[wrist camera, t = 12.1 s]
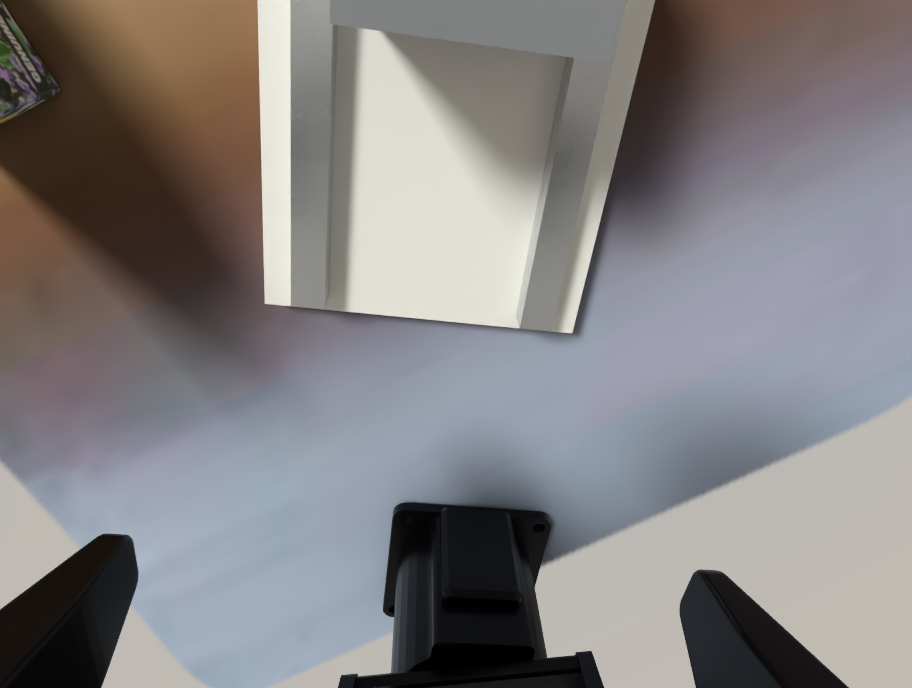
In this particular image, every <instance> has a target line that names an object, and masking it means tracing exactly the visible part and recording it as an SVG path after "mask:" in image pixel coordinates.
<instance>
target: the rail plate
mask: <svg viewBox="0 0 912 688" xmlns="http://www.w3.org/2000/svg"><path fill="white" fill-rule="evenodd" d="M654 3H655V0H624V2H623V7H622V11H621V15H620V20H619V24H618V29H617V33H616V38H615V42H614V47H613V51H612V55H611V60H610V63H608V62H600V61H593V60H586V59H579V58H572V57H564V56H557V55H550V54H543V53H535V52H528V51H521V50H514V49H507V48H499V47H492V46H485V45H478V44H471V43H463V42H456V41H449V40H442V39H434V38H427V37H420V36H413V35H406V34H398V33H391V32H384V31H377V30H370V29H362V28H355V27H348V26H341V25H333V24H330V0H258V35H259V77H260V120H261V162H262V205H263V247H264V290H265V304H273V305H283V306H293V307H303V308H313V309H324V310H335V311H345V312H355V313H366V314H376V315H386V316H397V317H407V318H417V319H427V320H438V321H448V322H458V323H469V324H479V325H489V326H499V327H510V328H520V329H529V330H540V331H550V332H561V333H572V332H573V328H574V324H575V320H576V316H577V312H578V308H579V304H580V300H581V296H582V292H583V288H584V284H585V280H586V276H587V272H588V268H589V264H590V260H591V256H592V252H593V248H594V244H595V240H596V236H597V232H598V228H599V224H600V220H601V216H602V212H603V208H604V204H605V200H606V196H607V192H608V188H609V184H610V180H611V176H612V172H613V168H614V164H615V159H616V155H617V151H618V147H619V143H620V139H621V135H622V131H623V127H624V123H625V119H626V115H627V111H628V107H629V103H630V99H631V95H632V91H633V87H634V83H635V79H636V75H637V71H638V67H639V63H640V59H641V55H642V51H643V47H644V43H645V39H646V35H647V31H648V27H649V23H650V19H651V15H652V11H653V7H654Z"/></svg>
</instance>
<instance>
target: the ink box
mask: <svg viewBox="0 0 912 688" xmlns="http://www.w3.org/2000/svg"><path fill="white" fill-rule="evenodd" d="M59 92H60V88H59V86H58V85H57V83H56V82H55V80H54V79H53V77H52V76H51V74H50V73H49V71H48V70H47V69H46V67H45V66H44V64H43V62H42V61H41V59H40V58H39V57H38V55H37V54H36V53H35V51H34V50H33V49H32V47H31V46H30V44H29V42H28V41H27V39H26V38H25V36H24V34H23V33H22V31H21V30H20V28H19V27H18V26H17V24H16V23H15V21H14V20H13V18H12V17H11V15H10V13H9V12H8V10H7V8H6V7H5V5H4V4H3V2H2V1H1V0H0V125H1V124H3V123H4V122H6V121H8V120H10V119H12V118H14V117H16V116H18V115H20V114H22V113H24V112H26V111H28V110H30V109H32V108H34V107H35V106H37V105H39V104H41V103H43V102H44V101H46V100H47V99H50V98H52V97H53V96H55V95H56V94H58V93H59Z"/></svg>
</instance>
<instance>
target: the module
mask: <svg viewBox="0 0 912 688" xmlns="http://www.w3.org/2000/svg"><path fill="white" fill-rule="evenodd" d="M623 2H624V0H330V24H333V25H341V26H348V27H355V28H362V29H370V30H377V31H384V32H391V33H398V34H406V35H413V36H420V37H427V38H434V39H442V40H449V41H456V42H463V43H471V44H478V45H485V46H492V47H499V48H507V49H514V50H521V51H528V52H535V53H543V54H550V55H557V56H564V57H572V58H579V59H586V60H593V61H600V62H608V63H610V60H611V55H612V51H613V47H614V42H615V38H616V33H617V29H618V24H619V20H620V15H621V11H622V7H623Z"/></svg>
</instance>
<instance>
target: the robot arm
mask: <svg viewBox="0 0 912 688" xmlns="http://www.w3.org/2000/svg"><path fill="white" fill-rule="evenodd" d="M401 515H409V516H407V517H404V516H401ZM539 523H540V525H536V524H539ZM550 529H551V524H550V520H549V517H548V516H547V515H546V514H545V513H542V512H533V511H518V510H503V509H489V508H474V507H459V506H444V505H430V504H415V503H401V504H399V505H397V506H396V507H395V508H394V511H393V518H392V527H391V537H390V546H389V556H388V565H387V574H386V584H385V593H384V603H383V612H384V613H385V614H386V615H388V616H390V617H394V631H393V649H392V667H391V668H392V669H391V673H390V674H379V675H369V676H360V677H359V676H358V674H350V675H341V678H340V682H339V686H338V688H604V686H603V683H602V680H601V678H600V675H599V672H598V669H597V666H596V663H595V660H594V657H593V654H592V652H591V651H586V652H576V655H574V656H564V657H554V658H547V654H546V649H545V643H544V638H543V632H542V627H541V621H540V616H539V610H538V605H537V599H536V594H535V588H534V587H535V583H536V580H537V576H538V573H539V569H540V565H541V562H542V558H543V555H544V551H545V547H546V544H547V540H548V537H549V533H550ZM137 582H138V567H137V561H136V555H135V549H134V543H133V540H132V538H131V537H130V536H128V535H121V534H102V535H100V536H98V537H96V538H95V539H94V540H92V541H91V542H90V543H88V544H87V545H86V546H84V547H83V548H82V549H80V550H79V551H78V552H76V553H75V554H74V555H72V556H71V557H70V558H68V559H67V560H66V561H64V562H63V563H62V564H60V565H59V566H58V567H56V568H55V569H54V570H52V571H51V572H50V573H48V574H47V575H46V576H44V577H43V578H42V579H40V580H39V581H38V582H36V583H35V584H34V585H32V586H31V587H30V588H28V589H27V590H26V591H24V592H23V593H22V594H20V595H19V596H18V597H16V598H15V599H14V600H12V601H11V602H10V603H8V604H7V605H6V606H4V607H3V608H2V609H1V610H0V688H101V687H102V684H103V681H104V678H105V676H106V673H107V670H108V668H109V665H110V662H111V659H112V656H113V653H114V650H115V647H116V645H117V641H118V639H119V636H120V633H121V630H122V627H123V624H124V621H125V619H126V615H127V613H128V610H129V607H130V604H131V601H132V598H133V595H134V593H135V590H136V586H137ZM680 618H681V623H682V627H683V631H684V635H685V640H686V645H687V649H688V654H689V658H690V662H691V667H692V671H693V676H694V681H695V685H696V688H849V687H847V686H846V685H845V684H844V683H843V682H842V681H841V680H840V679H839V678H838V677H837V676H836V675H834V674H833V673H832V672H831V671H830V670H829V669H828V668H827V667H826V666H825V665H823V664H822V663H821V662H820V661H819V660H818V659H817V658H816V657H815V656H814V655H812V654H811V653H810V652H809V651H808V650H807V649H806V648H805V647H804V646H803V645H802V644H801V643H799V642H798V641H797V640H796V639H795V638H794V637H793V636H792V635H791V634H790V633H789V632H788V631H786V630H785V629H784V628H783V627H782V626H781V625H780V624H779V623H778V622H777V621H776V620H774V619H773V618H772V617H771V616H770V615H769V614H768V613H767V612H766V611H765V610H764V609H762V608H761V607H760V606H759V605H758V604H757V603H756V602H755V601H754V600H753V599H752V598H750V597H749V596H748V595H747V594H746V593H745V592H744V591H743V590H742V589H741V588H740V587H738V586H737V585H736V584H735V583H734V582H733V581H732V580H731V579H730V578H728V576H726V575H725V574H724V573H722V572H720V571H715V570H697V571H696V572H694V574H693V576H692V578H691V580H690V582H689V584H688V586H687V589H686V591H685V593H684V595H683V597H682V600H681V603H680Z"/></svg>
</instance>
